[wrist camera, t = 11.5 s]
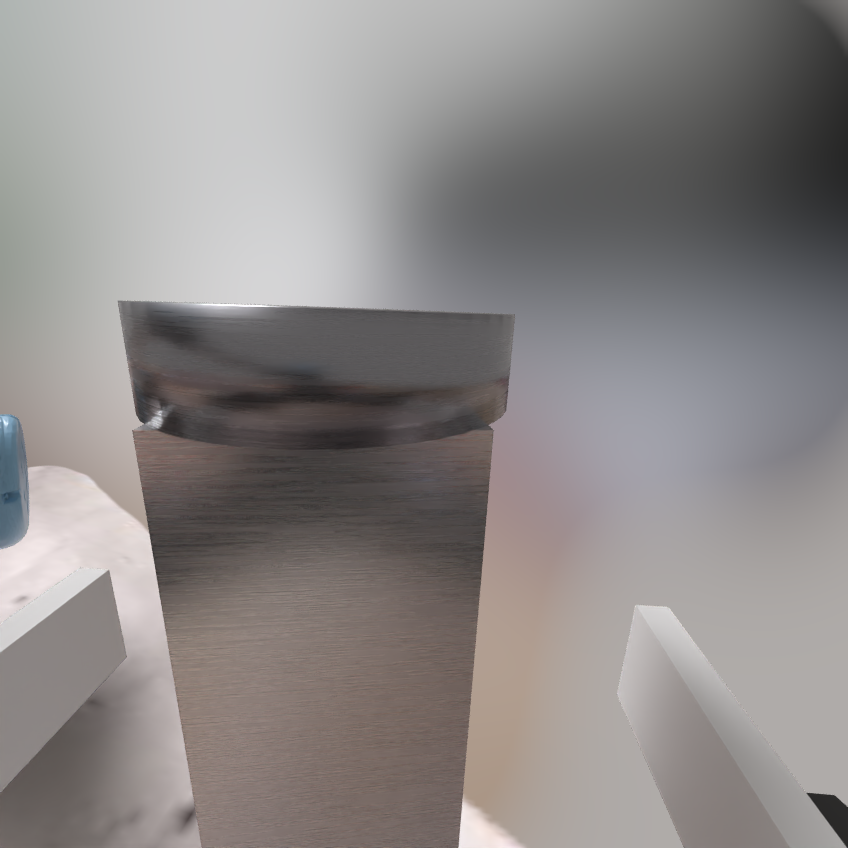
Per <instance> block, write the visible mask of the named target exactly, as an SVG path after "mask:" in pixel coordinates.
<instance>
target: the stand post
mask: <svg viewBox="0 0 848 848" xmlns="http://www.w3.org/2000/svg"><path fill="white" fill-rule="evenodd" d="M118 306H119V312H120V318H121V324H122V331H123V337H124V343H125V349H126V355H127V361H128V367H129V374H130V379H131V385H132V392H133V398H134V404H135V411H136V415H137V417H138V418H139V420H140V421H141V422H142V423H144V425H142V426H140V427H138V428H136V429H134V430H132V431H133V438H134V444H135V450H136V455H137V462H138V467H139V474H140V480H141V485H142V492H143V497H144V503H145V509H146V515H147V521H148V527H149V533H150V539H151V545H152V551H153V557H154V563H155V569H156V575H157V581H158V587H159V593H160V599H161V605H162V611H163V617H164V623H165V629H166V635H167V641H168V647H169V653H170V659H171V665H172V671H173V677H174V683H175V689H176V695H177V701H178V707H179V713H180V719H181V725H182V731H183V737H184V743H185V749H186V755H187V761H188V767H189V773H190V779H191V785H192V791H193V797H194V803H195V809H196V815H197V821H198V827H199V833H200V839H201V845H202V848H458V846H459V834H460V822H461V810H462V798H463V786H464V773H465V762H466V751H467V739H468V727H469V715H470V704H471V692H472V680H473V667H474V656H475V644H476V632H477V621H478V608H479V598H480V586H481V573H482V562H483V550H484V538H485V526H486V515H487V503H488V491H489V478H490V467H491V455H492V443H493V432H494V430H493V429H492V428H491V427H490V426H489V424H491V423H493V422H495V421H496V420H498V419H499V418H501V417H502V416H503V415H504V413H505V412H506V407H507V396H508V385H509V374H510V364H511V352H512V342H513V331H514V320H515V315H513V314H493V313H470V312H445V311H419V310H391V309H365V308H336V307H307V306H279V305H249V304H247V305H246V304H217V303H185V302H184V303H183V302H152V301H151V302H150V301H118Z"/></svg>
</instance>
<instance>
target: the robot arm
mask: <svg viewBox="0 0 848 848" xmlns="http://www.w3.org/2000/svg"><path fill="white" fill-rule="evenodd" d="M28 526H29V484H28V470H27V459H26V451H25V442H24V436H23V430H22V426H21V423H20V421H19V419H18V418H17V417H15V416H13V415H9V414H5V415H0V549H4V548H7V547H10V546H13V545H15V544H16V543H18V542H19V541H20V540H22V538H23V537H24V536H25V535H26V533H27V530H28ZM126 657H127V656H126V651H125V646H124V641H123V636H122V631H121V626H120V621H119V616H118V611H117V606H116V601H115V597H114V592H113V587H112V582H111V577H110V572H109V569H94V568H79V569H77V570H76V571H75V572H73V573H72V574H70V575H69V576H67V577H66V578H65V579H63V580H62V581H60V582H59V583H57V584H56V585H54V586H53V587H52V588H50V589H49V590H47V591H46V592H44V593H43V594H42V595H40V596H39V597H37V598H36V599H34V600H33V601H32V602H30V603H29V604H27V605H26V606H24V607H23V608H22V609H20V610H19V611H17V612H16V613H14V614H13V615H11V616H10V617H9V618H7V619H6V620H4V621H3V622H1V623H0V793H1V792H2V791H3V790H4V788H5V787H6V786H7V785H8V784H9V783H10V782H11V781H12V780H13V779H14V778H15V777H16V776H17V774H18V773H19V772H20V771H21V770H22V769H23V768H24V767H25V766H26V765H27V764H28V763H29V762H30V760H31V759H32V758H33V757H34V756H35V755H36V754H37V753H38V752H39V751H40V750H41V749H42V748H43V746H44V745H45V744H46V743H47V742H48V741H49V740H50V739H51V738H52V737H53V736H54V735H55V734H56V733H57V731H58V730H59V729H60V728H61V727H62V726H63V725H64V724H65V723H66V722H67V721H68V720H69V719H70V717H71V716H72V715H73V714H74V713H75V712H76V711H77V710H78V709H79V708H80V707H81V706H82V705H83V703H84V702H85V701H86V700H87V699H88V698H89V697H90V696H91V695H92V694H93V693H94V692H95V691H96V689H97V688H98V687H99V686H100V685H101V684H102V683H103V682H104V681H105V680H106V679H107V678H108V677H109V675H110V674H111V673H112V672H113V671H114V670H115V669H116V668H117V667H118V666H119V665H120V664H121V663H122V661H123V660H124V659H125V658H126ZM617 696H618V698H619V701H620V703H621V705H622V707H623V710H624V712H625V714H626V717H627V719H628V721H629V723H630V726H631V728H632V730H633V732H634V735H635V737H636V739H637V742H638V744H639V746H640V749H641V751H642V753H643V755H644V758H645V760H646V762H647V764H648V767H649V769H650V771H651V773H652V776H653V778H654V780H655V782H656V785H657V787H658V789H659V792H660V794H661V796H662V799H663V801H664V803H665V805H666V808H667V810H668V812H669V815H670V817H671V819H672V821H673V824H674V826H675V828H676V831H677V833H678V835H679V837H680V839H681V842H682V844H683V847H684V848H848V807H847V806H846V805H845V804H843V803H842V802H841V801H840V800H839V799H838V798H837V797H836V796H834V795H825V794H814V793H806V792H805V791H804V789H803V788H802V787H801V786H800V784H799V783H798V781H797V780H796V778H795V777H794V776H793V774H792V773H791V772H790V770H789V769H788V768H787V766H786V765H785V764H784V762H783V761H782V760H781V758H780V757H779V756H778V754H777V753H776V752H775V751H774V749H773V747H772V746H771V745H770V744H769V742H768V741H767V740H766V738H765V737H764V735H763V734H762V733H761V731H760V730H759V729H758V727H757V726H756V725H755V723H754V722H753V721H752V719H751V718H750V717H749V715H748V714H747V712H746V711H745V710H744V708H743V707H742V706H741V704H740V703H739V702H738V700H737V699H736V698H735V696H734V695H733V694H732V692H731V691H730V690H729V688H728V687H727V685H726V684H725V683H724V682H723V680H722V679H721V678H720V676H719V675H718V673H717V672H716V671H715V669H714V668H713V667H712V665H711V664H710V663H709V661H708V660H707V659H706V657H705V656H704V654H703V653H702V652H701V651H700V649H699V648H698V646H697V645H696V644H695V642H694V641H693V640H692V638H691V637H690V636H689V634H688V633H687V632H686V630H685V629H684V628H683V626H682V625H681V624H680V622H679V621H678V620H677V618H676V617H675V615H674V614H673V613H672V611H671V610H670V609H669V607H660V606H644V605H635V611H634V615H633V620H632V625H631V630H630V634H629V640H628V644H627V649H626V654H625V659H624V663H623V669H622V673H621V678H620V683H619V688H618V692H617Z"/></svg>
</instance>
